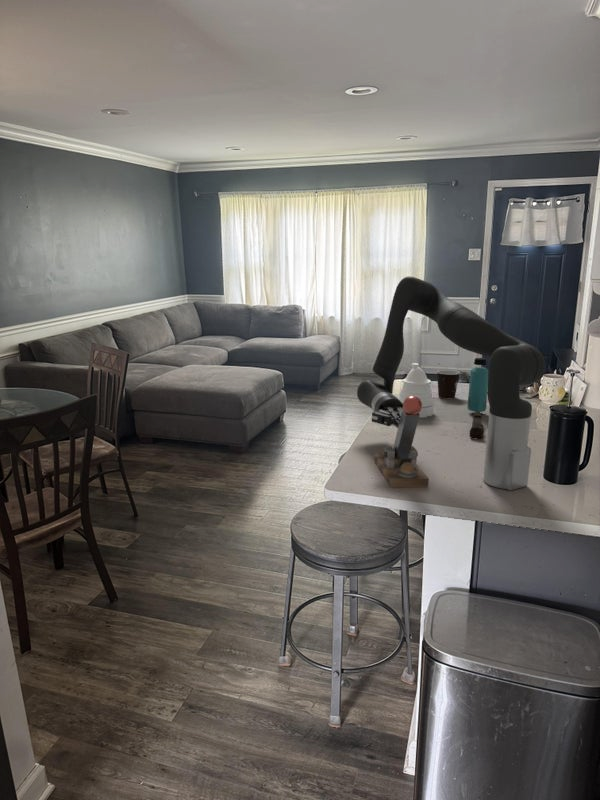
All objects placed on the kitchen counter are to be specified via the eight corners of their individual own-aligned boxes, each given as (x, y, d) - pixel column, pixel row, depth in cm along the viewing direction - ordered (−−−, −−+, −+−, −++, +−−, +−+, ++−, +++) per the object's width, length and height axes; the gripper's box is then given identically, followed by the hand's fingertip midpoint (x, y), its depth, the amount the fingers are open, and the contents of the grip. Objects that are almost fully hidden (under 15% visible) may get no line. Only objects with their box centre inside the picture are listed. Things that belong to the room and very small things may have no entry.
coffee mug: (445, 393, 223) (447, 369, 221) (462, 397, 216) (464, 373, 214) (425, 397, 217) (427, 372, 215) (442, 401, 210) (444, 376, 208)
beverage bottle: (489, 415, 191) (495, 359, 186) (474, 417, 188) (479, 360, 184) (477, 410, 197) (482, 356, 192) (462, 412, 194) (466, 357, 190)
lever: (389, 451, 138) (402, 392, 125) (406, 450, 138) (421, 392, 125) (394, 470, 133) (409, 411, 120) (412, 470, 134) (428, 411, 120)
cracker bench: (374, 461, 145) (375, 438, 144) (407, 460, 146) (408, 437, 144) (390, 487, 128) (392, 461, 126) (428, 486, 129) (429, 460, 127)
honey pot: (424, 419, 185) (427, 367, 181) (390, 413, 192) (392, 363, 188) (438, 411, 196) (441, 362, 191) (405, 406, 203) (408, 358, 198)
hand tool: (482, 440, 164) (484, 426, 163) (469, 439, 165) (470, 424, 164) (485, 424, 181) (486, 411, 180) (472, 423, 182) (474, 409, 181)
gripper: (364, 395, 147) (378, 412, 130) (411, 394, 148) (431, 411, 132) (363, 421, 149) (376, 441, 132) (410, 420, 150) (429, 440, 133)
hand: (404, 426), depth 132 cm, fingers closed
